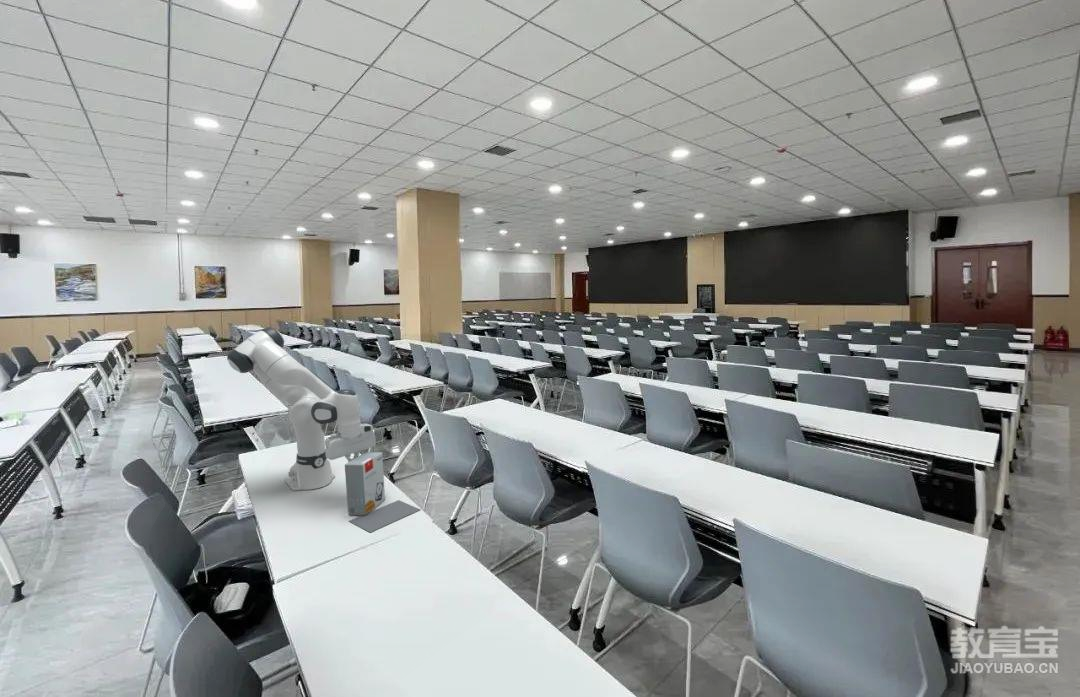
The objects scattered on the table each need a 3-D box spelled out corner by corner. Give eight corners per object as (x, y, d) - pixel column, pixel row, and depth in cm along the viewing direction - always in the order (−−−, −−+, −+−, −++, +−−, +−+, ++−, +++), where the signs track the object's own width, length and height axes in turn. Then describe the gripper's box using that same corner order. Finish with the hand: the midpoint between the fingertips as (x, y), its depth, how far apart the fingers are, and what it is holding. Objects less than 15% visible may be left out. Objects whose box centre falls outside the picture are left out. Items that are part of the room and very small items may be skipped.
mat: (348, 521, 188) (348, 520, 188) (398, 500, 205) (398, 500, 204) (370, 533, 179) (370, 532, 179) (420, 510, 196) (420, 509, 196)
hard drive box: (365, 516, 191) (361, 465, 188) (347, 515, 192) (342, 464, 190) (386, 499, 206) (382, 451, 203) (369, 498, 207) (365, 451, 205)
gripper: (328, 438, 191) (332, 473, 193) (376, 425, 206) (379, 457, 208) (320, 435, 195) (324, 470, 197) (367, 422, 210) (370, 454, 212)
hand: (352, 463), depth 202 cm, fingers closed
